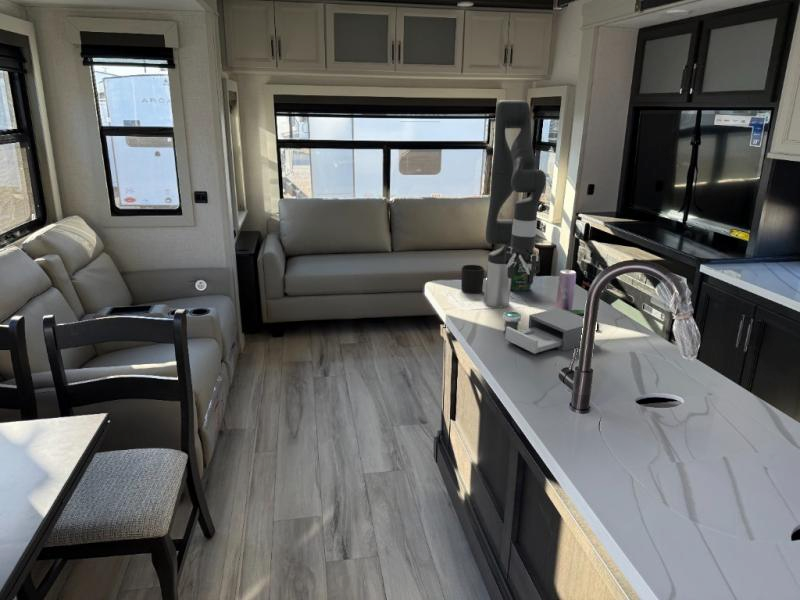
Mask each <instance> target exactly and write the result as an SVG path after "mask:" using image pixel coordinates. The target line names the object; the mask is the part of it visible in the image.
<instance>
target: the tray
mask: <svg viewBox="0 0 800 600" xmlns="http://www.w3.org/2000/svg"><path fill="white" fill-rule="evenodd" d="M504 335H505V336H504V337H505V338H504V340H507V341H508V342H510V343H512V344H515V345H517V346H518V347H519V348H522V349H524V350H527V351H529V352H530V353H532V354H537V353H541V352H544V351H547V350H551V349H554V348H556V347H558V346H561V345H562V341H563V339H561V338H558V337H556V336H554V335H552V334H549V333H547V332H545V331H542V330H540V329H538V328H536V327H533V328H529V329H528V328H526V329H523V330H518V331H517V330H515V329H513V328H511V327H506V334H505V333H504Z"/></svg>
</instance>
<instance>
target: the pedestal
mask: <svg viewBox="0 0 800 600" xmlns="http://www.w3.org/2000/svg"><path fill="white" fill-rule="evenodd" d="M506 327H511V328H513V329H515V330H517V331H519V330H518V328H519V322H507V321H505V320H504V330H503V332H504V335H505V334H506Z"/></svg>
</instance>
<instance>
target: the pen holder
mask: <svg viewBox="0 0 800 600" xmlns="http://www.w3.org/2000/svg"><path fill="white" fill-rule="evenodd" d="M484 278H485V268H484V267H483V266H481V265H478V264H465V265H463V266H462V267H461V283H460V284H461V291H462V292H463V293H465V294H470V295H471V294H472V295H473V294H480V293H482V292H483V290H484V289H483V287H484V281H485V279H484Z"/></svg>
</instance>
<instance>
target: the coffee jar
mask: <svg viewBox="0 0 800 600" xmlns="http://www.w3.org/2000/svg"><path fill="white" fill-rule="evenodd" d="M532 252H533V254H534V255H535V253H534V252H535V251H534V249H533V250H532ZM528 264H529V263H528ZM528 264H527V265H528ZM514 267H515V271H514V278H511V287H510V291H515V292H521V291H522V292H525V291H529V290H531V286H532V285H526V274H527V272H526V269H525V268H524V267H523V265H521V264H519V263H516V265H515V266H514ZM529 269H530V268H529Z"/></svg>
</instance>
